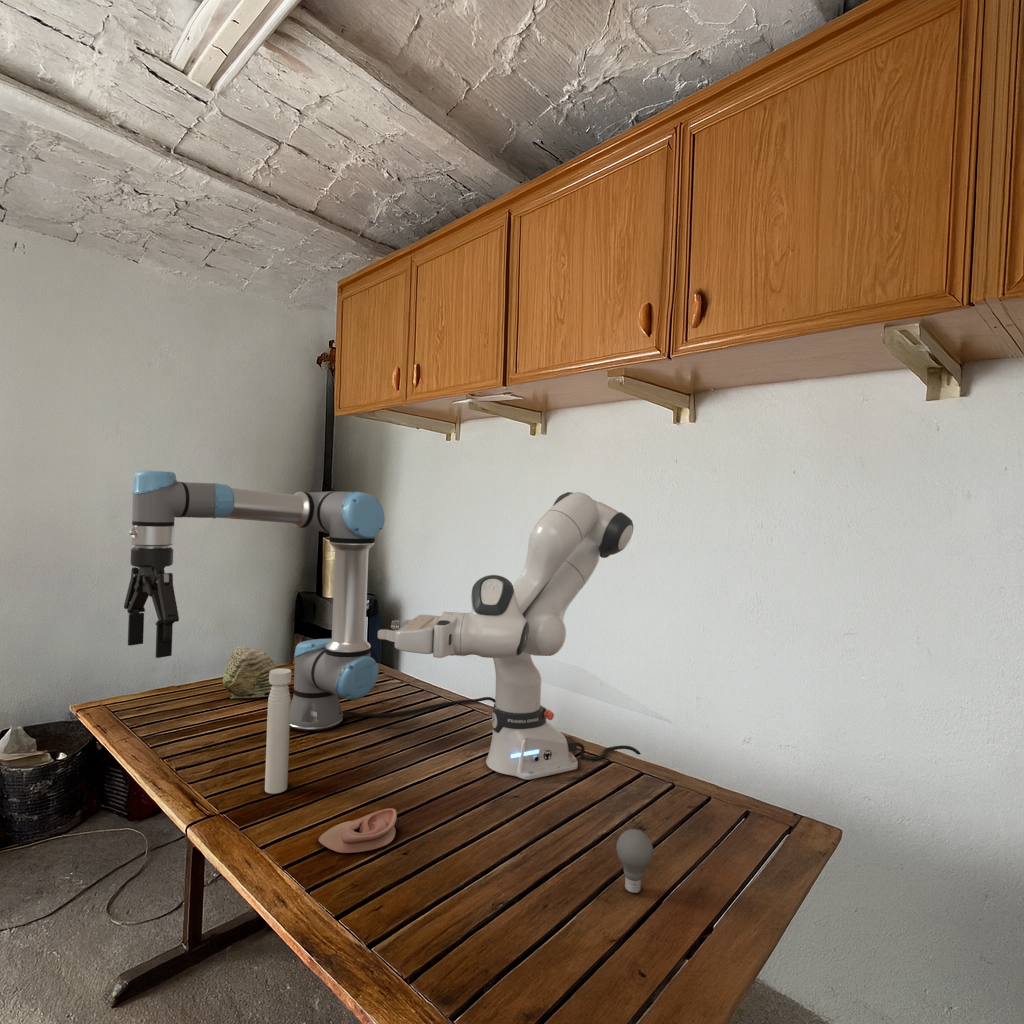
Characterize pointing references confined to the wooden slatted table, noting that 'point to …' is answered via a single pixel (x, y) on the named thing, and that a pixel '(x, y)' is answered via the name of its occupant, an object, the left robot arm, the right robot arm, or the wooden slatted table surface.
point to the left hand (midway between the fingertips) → (149, 650)
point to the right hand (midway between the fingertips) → (385, 629)
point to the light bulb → (634, 857)
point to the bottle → (277, 739)
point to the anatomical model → (362, 833)
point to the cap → (280, 676)
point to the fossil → (248, 673)
